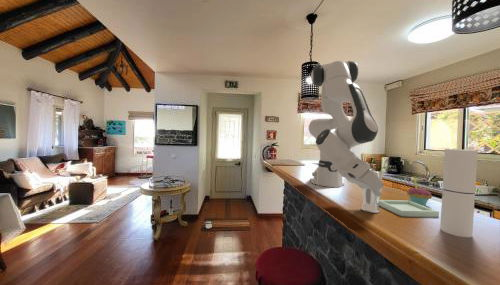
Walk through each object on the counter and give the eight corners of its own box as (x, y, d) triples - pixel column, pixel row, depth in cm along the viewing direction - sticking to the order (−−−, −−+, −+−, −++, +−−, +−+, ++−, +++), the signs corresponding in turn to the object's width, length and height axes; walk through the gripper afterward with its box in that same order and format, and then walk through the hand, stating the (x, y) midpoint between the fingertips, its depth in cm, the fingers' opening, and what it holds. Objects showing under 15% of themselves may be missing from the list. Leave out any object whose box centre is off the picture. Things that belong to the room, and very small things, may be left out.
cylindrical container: (451, 236, 64) (456, 149, 64) (434, 226, 71) (439, 148, 71) (479, 238, 63) (485, 150, 63) (459, 228, 70) (464, 149, 70)
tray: (377, 204, 94) (377, 199, 94) (408, 205, 95) (409, 200, 95) (401, 216, 80) (402, 210, 80) (438, 217, 81) (438, 211, 81)
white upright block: (375, 208, 89) (377, 170, 88) (384, 214, 82) (386, 173, 81) (357, 207, 89) (359, 169, 89) (364, 212, 82) (366, 172, 82)
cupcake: (412, 206, 94) (414, 177, 93) (402, 200, 102) (404, 174, 102) (435, 208, 92) (437, 179, 92) (423, 202, 100) (425, 175, 100)
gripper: (331, 168, 95) (352, 191, 96) (357, 176, 74) (384, 206, 75) (342, 158, 95) (363, 181, 96) (371, 163, 74) (397, 193, 75)
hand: (372, 192), depth 85 cm, fingers closed on white upright block, 6 cm apart
